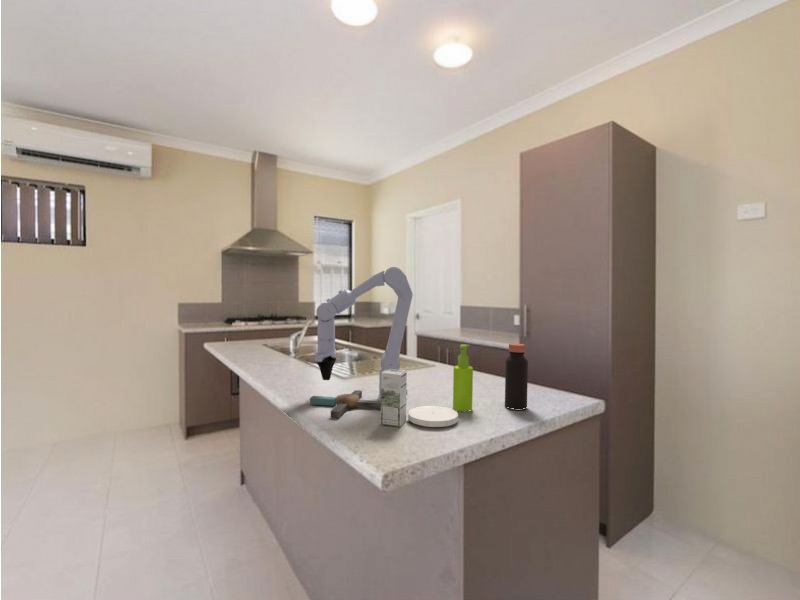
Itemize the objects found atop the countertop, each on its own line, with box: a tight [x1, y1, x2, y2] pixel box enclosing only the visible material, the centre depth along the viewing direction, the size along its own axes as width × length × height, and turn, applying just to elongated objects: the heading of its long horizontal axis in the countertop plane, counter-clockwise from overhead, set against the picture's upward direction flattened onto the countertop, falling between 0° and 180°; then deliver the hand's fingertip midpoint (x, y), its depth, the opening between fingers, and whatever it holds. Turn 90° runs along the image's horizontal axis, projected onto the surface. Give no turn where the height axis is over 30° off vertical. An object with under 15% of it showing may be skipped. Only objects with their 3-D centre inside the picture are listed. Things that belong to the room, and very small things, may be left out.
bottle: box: [504, 343, 529, 409], centre depth 124 cm, size 7×7×20 cm
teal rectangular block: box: [309, 395, 337, 407], centre depth 125 cm, size 8×2×2 cm, turn 80°
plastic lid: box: [407, 405, 459, 428], centre depth 111 cm, size 14×14×2 cm
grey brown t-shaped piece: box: [330, 390, 381, 420], centre depth 123 cm, size 16×24×3 cm, turn 170°
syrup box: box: [380, 369, 408, 428], centre depth 108 cm, size 6×6×14 cm
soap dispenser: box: [452, 343, 474, 412], centre depth 122 cm, size 6×7×20 cm
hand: (326, 379), depth 131 cm, fingers closed
